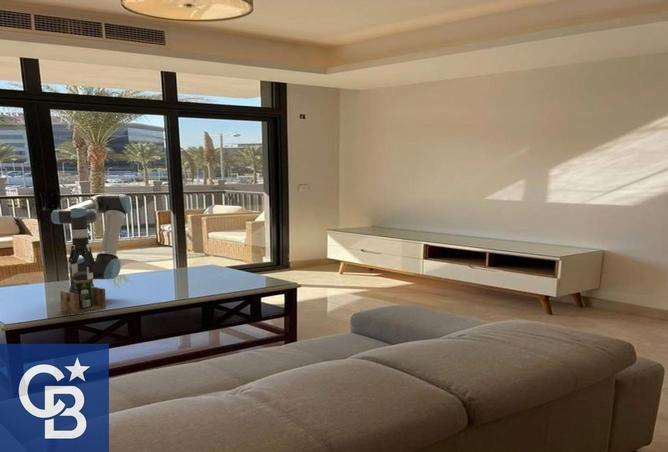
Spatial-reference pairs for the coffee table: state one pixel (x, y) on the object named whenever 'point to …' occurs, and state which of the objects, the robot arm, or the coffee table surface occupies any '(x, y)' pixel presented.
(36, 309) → the coffee table surface
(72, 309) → the holder
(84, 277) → the coffee jar
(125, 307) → the coffee table surface
